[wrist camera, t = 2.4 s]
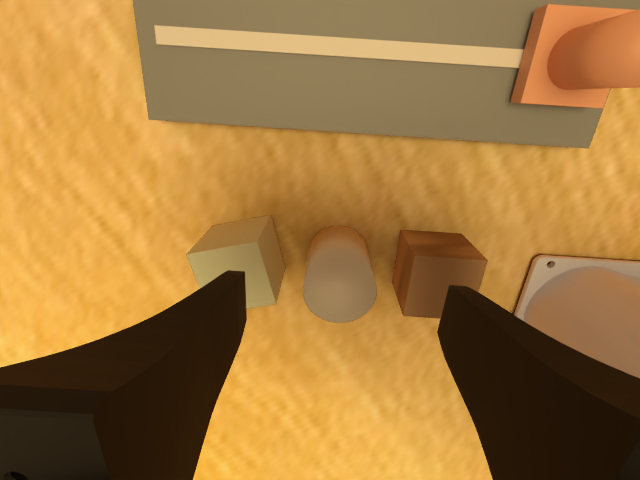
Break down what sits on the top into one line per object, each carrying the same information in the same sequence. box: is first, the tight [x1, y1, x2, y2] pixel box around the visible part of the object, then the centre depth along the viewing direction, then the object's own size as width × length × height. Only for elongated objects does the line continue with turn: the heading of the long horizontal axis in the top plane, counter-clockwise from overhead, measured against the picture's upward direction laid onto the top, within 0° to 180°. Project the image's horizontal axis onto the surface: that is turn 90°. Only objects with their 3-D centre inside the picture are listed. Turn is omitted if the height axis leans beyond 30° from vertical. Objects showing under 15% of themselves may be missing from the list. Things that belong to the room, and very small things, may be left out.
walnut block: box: [392, 230, 488, 318], centre depth 21 cm, size 4×4×4 cm
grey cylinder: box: [303, 226, 377, 323], centre depth 20 cm, size 4×4×5 cm
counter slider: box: [510, 4, 640, 108], centre depth 14 cm, size 4×4×5 cm
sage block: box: [186, 215, 285, 309], centre depth 21 cm, size 4×4×4 cm
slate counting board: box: [133, 0, 640, 148], centre depth 17 cm, size 24×8×2 cm, turn 87°
